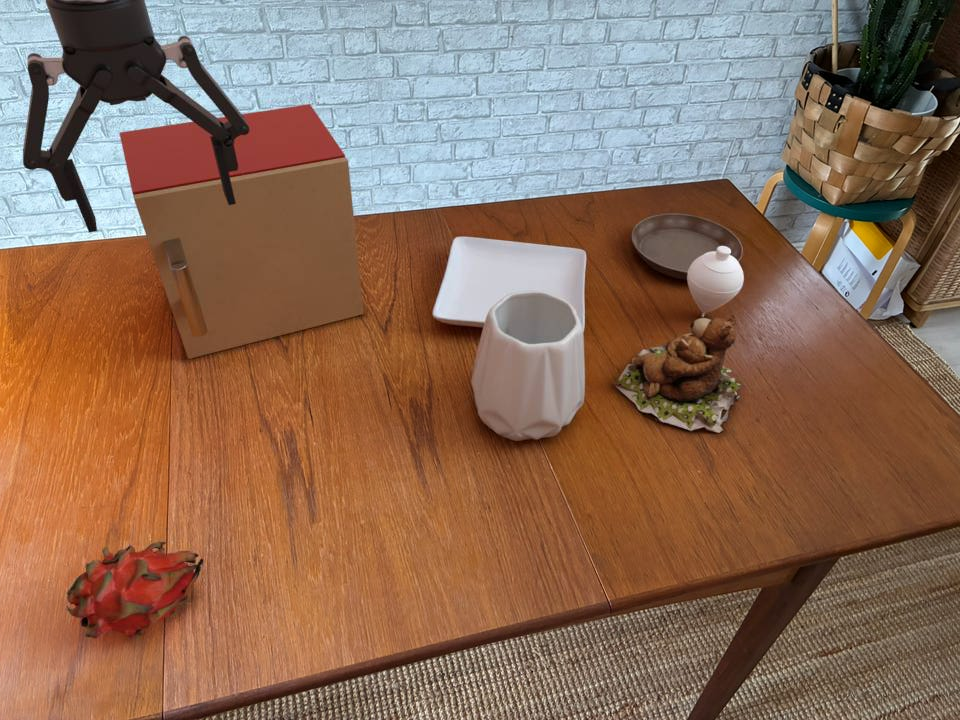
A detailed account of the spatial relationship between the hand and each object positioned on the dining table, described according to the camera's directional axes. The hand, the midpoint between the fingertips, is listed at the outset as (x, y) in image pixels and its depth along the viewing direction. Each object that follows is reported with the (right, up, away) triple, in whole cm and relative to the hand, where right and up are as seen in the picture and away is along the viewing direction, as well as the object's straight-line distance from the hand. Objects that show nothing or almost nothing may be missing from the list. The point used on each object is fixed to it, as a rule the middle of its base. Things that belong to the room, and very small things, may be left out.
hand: (163, 211), depth 73 cm
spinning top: (+66, -9, +31) cm, 74 cm away
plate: (+38, -6, +33) cm, 51 cm away
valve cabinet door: (+6, -14, +23) cm, 27 cm away
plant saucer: (+66, +2, +43) cm, 79 cm away
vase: (+39, -22, +16) cm, 47 cm away
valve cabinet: (+1, -6, +31) cm, 31 cm away
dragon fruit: (+1, -39, -5) cm, 40 cm away
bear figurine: (+59, -20, +20) cm, 65 cm away
